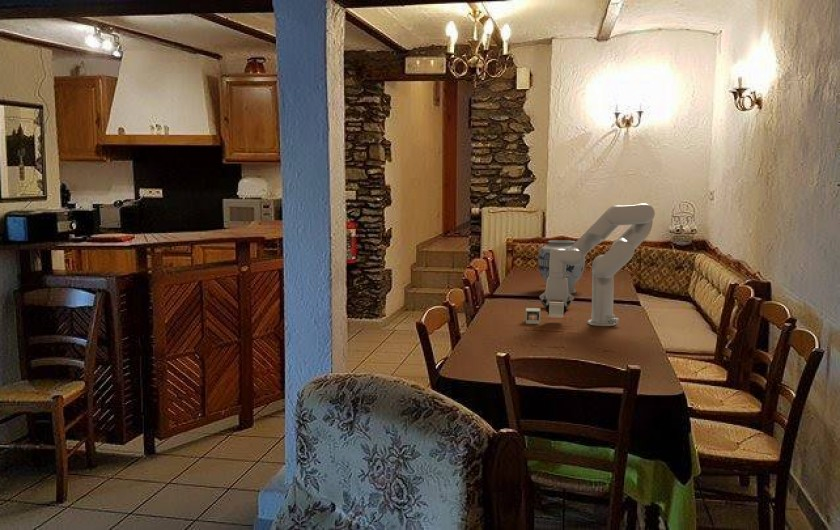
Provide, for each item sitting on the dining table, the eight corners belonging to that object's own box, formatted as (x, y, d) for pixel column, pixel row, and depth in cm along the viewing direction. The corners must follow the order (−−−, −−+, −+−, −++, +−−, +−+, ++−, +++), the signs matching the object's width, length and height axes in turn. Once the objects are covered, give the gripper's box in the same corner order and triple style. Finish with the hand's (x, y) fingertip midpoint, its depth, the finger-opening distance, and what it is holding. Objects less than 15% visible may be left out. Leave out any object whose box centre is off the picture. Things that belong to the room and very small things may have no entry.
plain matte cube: (540, 321, 345) (540, 308, 344) (539, 323, 338) (540, 310, 338) (526, 320, 346) (526, 308, 345) (525, 323, 339) (525, 310, 339)
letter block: (537, 321, 344) (537, 313, 343) (537, 323, 340) (537, 314, 339) (528, 321, 344) (528, 312, 344) (528, 323, 340) (528, 314, 340)
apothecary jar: (530, 289, 440) (530, 239, 436) (570, 287, 448) (570, 238, 444) (551, 296, 414) (552, 243, 411) (593, 293, 422) (594, 241, 419)
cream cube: (563, 315, 342) (563, 302, 342) (563, 317, 336) (563, 304, 335) (549, 314, 343) (549, 301, 343) (549, 317, 337) (549, 304, 336)
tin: (540, 307, 379) (541, 291, 378) (542, 306, 382) (543, 290, 381) (569, 310, 372) (569, 293, 371) (571, 309, 375) (571, 292, 374)
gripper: (576, 274, 340) (575, 313, 342) (538, 273, 343) (537, 311, 345) (577, 277, 332) (575, 316, 334) (538, 275, 335) (536, 314, 337)
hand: (556, 313), depth 340 cm, fingers closed on cream cube, 6 cm apart
